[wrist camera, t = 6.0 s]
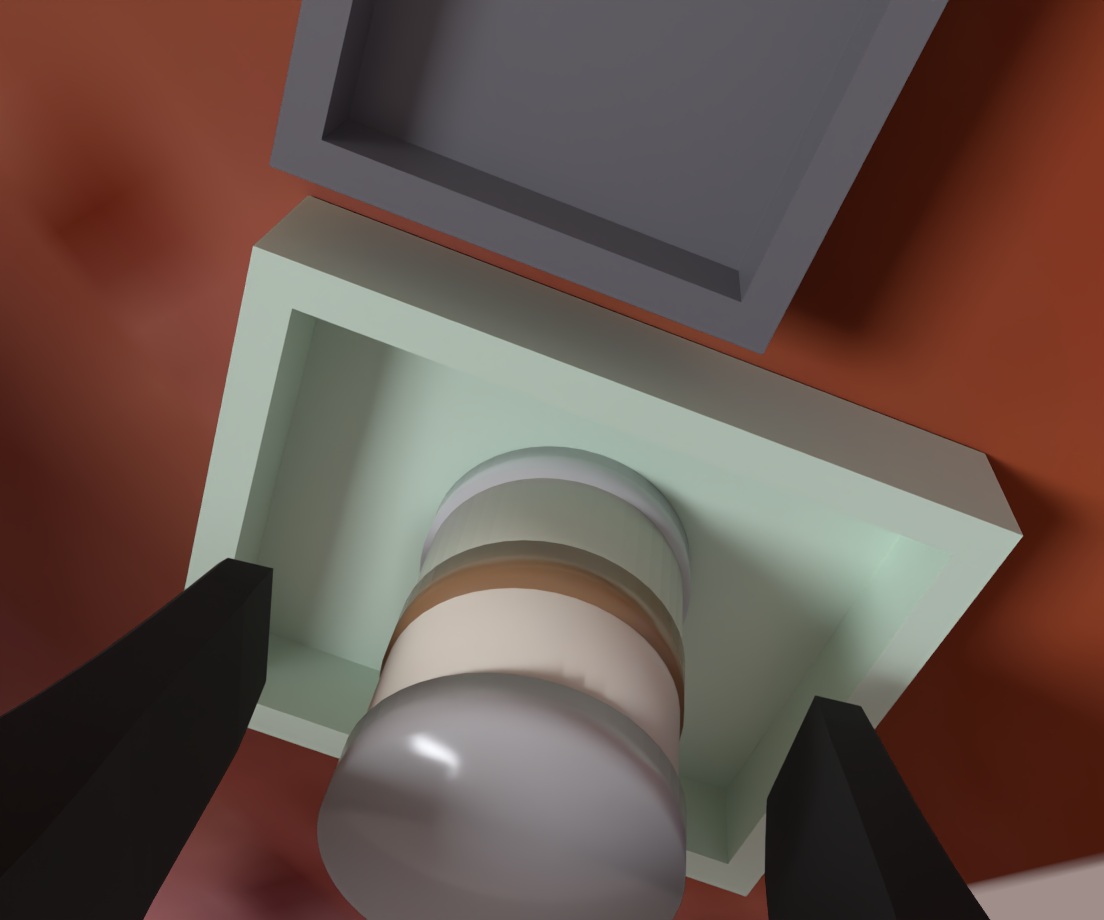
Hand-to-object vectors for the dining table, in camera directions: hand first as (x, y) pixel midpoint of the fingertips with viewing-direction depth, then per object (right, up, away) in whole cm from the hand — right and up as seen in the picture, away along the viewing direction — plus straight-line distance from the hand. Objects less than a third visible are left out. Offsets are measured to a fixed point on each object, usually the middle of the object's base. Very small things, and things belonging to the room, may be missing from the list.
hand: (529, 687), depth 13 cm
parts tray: (0, +2, +3) cm, 3 cm away
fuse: (0, +1, +2) cm, 3 cm away
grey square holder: (+1, +9, -2) cm, 9 cm away
